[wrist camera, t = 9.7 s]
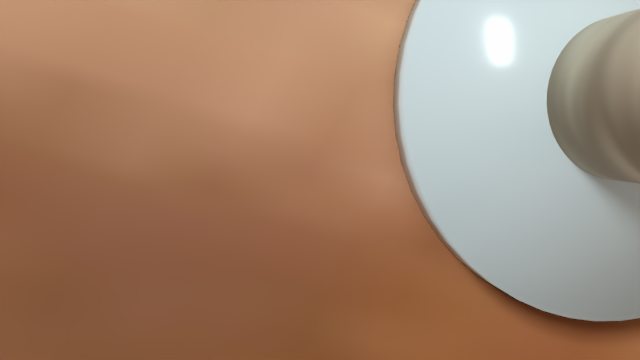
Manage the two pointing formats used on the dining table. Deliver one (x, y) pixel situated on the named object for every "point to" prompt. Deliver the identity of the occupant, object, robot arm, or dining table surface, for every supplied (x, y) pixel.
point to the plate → (512, 156)
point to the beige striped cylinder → (599, 98)
